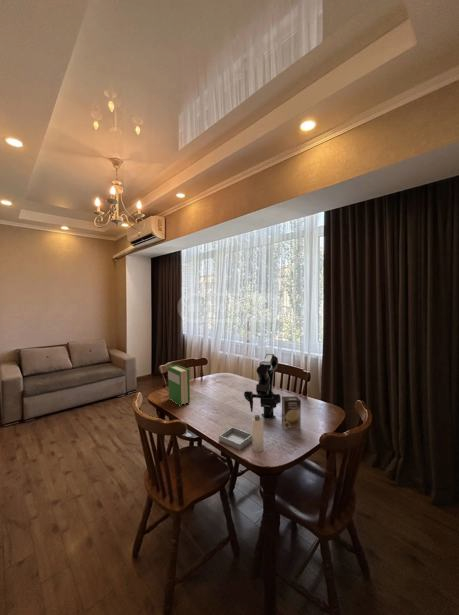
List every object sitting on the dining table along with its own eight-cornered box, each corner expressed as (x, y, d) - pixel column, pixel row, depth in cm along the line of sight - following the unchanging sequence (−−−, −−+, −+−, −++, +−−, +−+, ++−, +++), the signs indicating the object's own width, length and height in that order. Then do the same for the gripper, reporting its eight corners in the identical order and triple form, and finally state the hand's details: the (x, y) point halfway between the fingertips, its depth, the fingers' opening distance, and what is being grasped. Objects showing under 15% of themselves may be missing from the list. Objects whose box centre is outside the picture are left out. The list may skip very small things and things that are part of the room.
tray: (232, 432, 134) (232, 426, 134) (252, 440, 126) (252, 434, 126) (219, 441, 125) (218, 435, 125) (240, 450, 117) (239, 444, 117)
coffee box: (284, 430, 135) (284, 400, 135) (281, 424, 142) (281, 396, 141) (301, 429, 136) (300, 400, 135) (297, 423, 142) (297, 395, 141)
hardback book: (189, 404, 172) (189, 369, 171) (180, 407, 167) (179, 371, 167) (178, 396, 186) (177, 364, 185) (168, 399, 181) (167, 366, 180)
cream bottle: (250, 446, 121) (249, 414, 120) (260, 444, 123) (259, 412, 122) (255, 453, 116) (254, 419, 115) (265, 450, 118) (265, 417, 117)
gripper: (244, 375, 134) (239, 404, 124) (279, 378, 128) (277, 408, 118) (248, 385, 141) (243, 413, 131) (281, 388, 136) (279, 417, 126)
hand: (260, 413), depth 126 cm, fingers open, 9 cm apart
